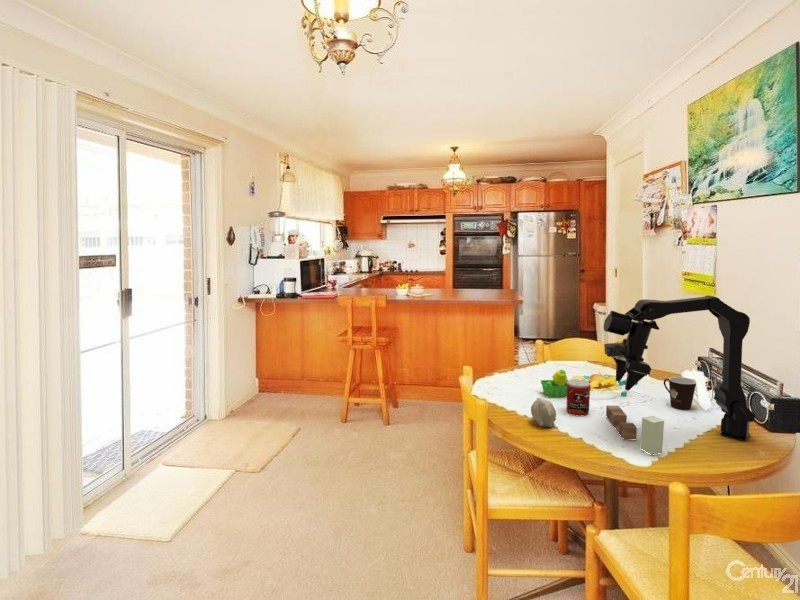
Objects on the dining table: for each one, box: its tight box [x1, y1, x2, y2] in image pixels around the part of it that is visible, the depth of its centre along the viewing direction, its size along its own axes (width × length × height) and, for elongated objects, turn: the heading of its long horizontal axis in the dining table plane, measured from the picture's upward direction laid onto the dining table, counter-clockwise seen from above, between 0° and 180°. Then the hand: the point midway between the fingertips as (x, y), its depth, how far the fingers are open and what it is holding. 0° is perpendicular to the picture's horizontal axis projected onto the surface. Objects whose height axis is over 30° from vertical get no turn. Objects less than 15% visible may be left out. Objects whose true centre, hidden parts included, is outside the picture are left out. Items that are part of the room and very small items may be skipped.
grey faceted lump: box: [530, 397, 557, 428], centre depth 160 cm, size 9×8×10 cm
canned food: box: [566, 378, 591, 417], centre depth 170 cm, size 8×8×11 cm
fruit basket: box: [540, 369, 570, 398], centre depth 188 cm, size 11×9×11 cm
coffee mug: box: [663, 376, 697, 411], centre depth 174 cm, size 12×9×10 cm
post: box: [640, 415, 665, 456], centre depth 139 cm, size 4×4×10 cm
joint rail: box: [605, 405, 638, 440], centre depth 156 cm, size 19×4×4 cm, turn 171°
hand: (621, 385), depth 151 cm, fingers open, 9 cm apart
